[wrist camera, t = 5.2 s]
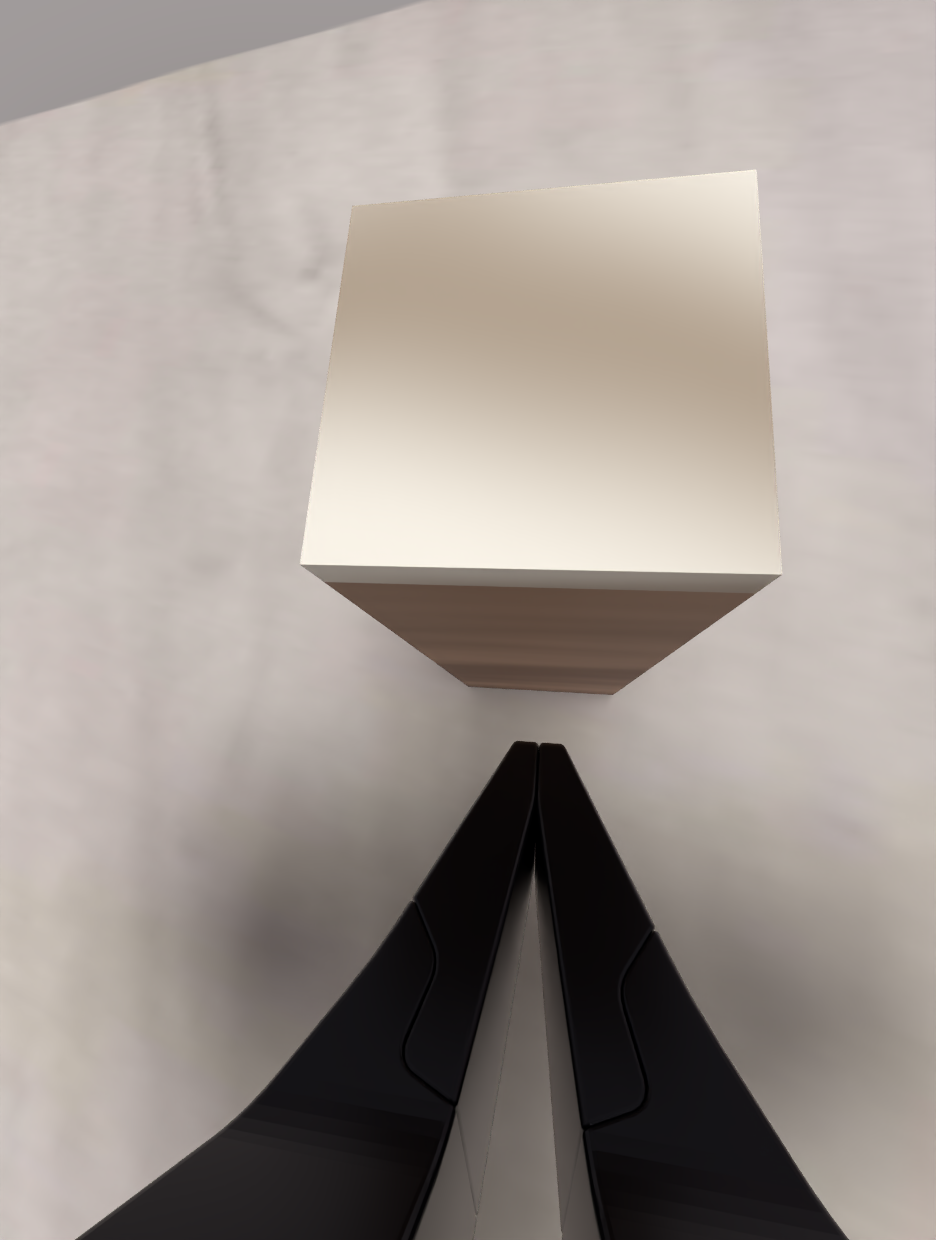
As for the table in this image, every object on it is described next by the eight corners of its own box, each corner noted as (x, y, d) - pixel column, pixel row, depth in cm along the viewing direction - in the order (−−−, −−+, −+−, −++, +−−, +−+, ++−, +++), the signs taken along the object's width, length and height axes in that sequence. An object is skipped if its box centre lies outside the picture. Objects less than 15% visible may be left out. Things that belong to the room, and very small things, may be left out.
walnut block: (612, 694, 16) (782, 574, 5) (468, 686, 17) (300, 564, 5) (614, 556, 17) (756, 169, 6) (477, 554, 18) (352, 205, 6)
